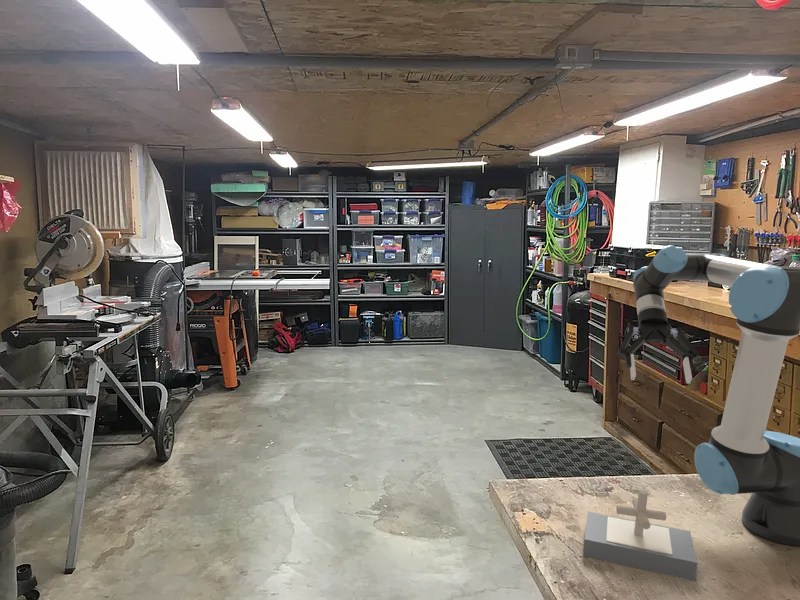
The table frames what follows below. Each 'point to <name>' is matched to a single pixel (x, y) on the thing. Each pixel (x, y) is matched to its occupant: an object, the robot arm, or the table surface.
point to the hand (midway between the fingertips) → (661, 379)
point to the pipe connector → (641, 513)
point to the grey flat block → (640, 546)
